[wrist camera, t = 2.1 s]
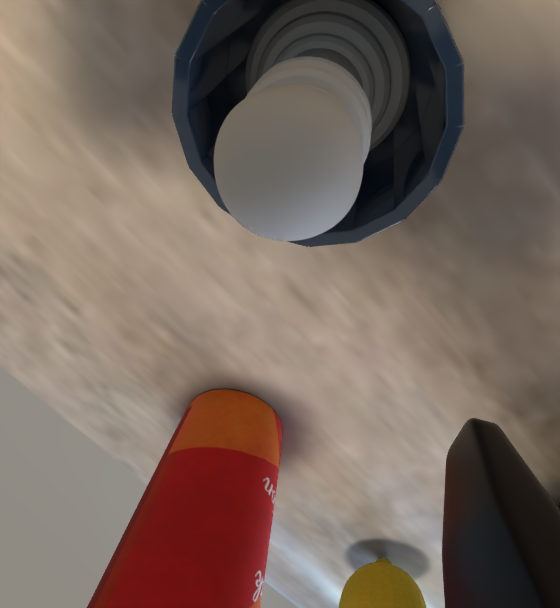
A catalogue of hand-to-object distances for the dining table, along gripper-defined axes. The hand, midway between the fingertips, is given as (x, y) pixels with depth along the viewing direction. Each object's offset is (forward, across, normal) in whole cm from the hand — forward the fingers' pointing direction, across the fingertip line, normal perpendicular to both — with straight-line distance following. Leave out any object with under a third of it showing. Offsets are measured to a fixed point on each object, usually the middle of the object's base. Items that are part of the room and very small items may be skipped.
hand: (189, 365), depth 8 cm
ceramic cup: (+13, -1, -2) cm, 13 cm away
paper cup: (+13, 0, +17) cm, 22 cm away
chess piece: (+13, -1, -2) cm, 13 cm away
